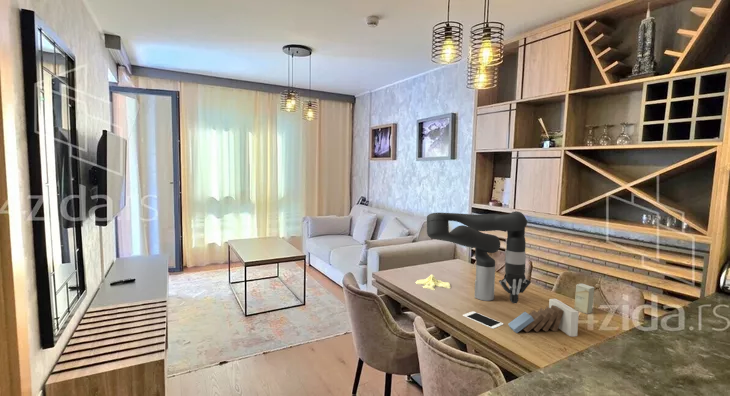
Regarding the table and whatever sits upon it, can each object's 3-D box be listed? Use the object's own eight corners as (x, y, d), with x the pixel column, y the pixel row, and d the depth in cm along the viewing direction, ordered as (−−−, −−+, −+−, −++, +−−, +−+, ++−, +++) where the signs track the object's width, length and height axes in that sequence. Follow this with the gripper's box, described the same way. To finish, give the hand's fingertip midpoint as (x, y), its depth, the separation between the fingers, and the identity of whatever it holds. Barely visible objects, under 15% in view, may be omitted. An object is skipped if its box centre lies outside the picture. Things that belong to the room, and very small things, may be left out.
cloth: (457, 287, 196) (457, 277, 195) (430, 293, 187) (431, 282, 187) (432, 276, 215) (432, 267, 215) (407, 281, 207) (407, 270, 206)
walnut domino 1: (524, 329, 141) (540, 314, 141) (517, 324, 146) (533, 309, 146) (527, 332, 142) (543, 318, 142) (520, 327, 146) (536, 313, 147)
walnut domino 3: (543, 329, 142) (554, 310, 142) (535, 324, 147) (546, 306, 147) (546, 331, 142) (558, 313, 142) (539, 326, 147) (550, 308, 147)
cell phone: (473, 312, 163) (473, 311, 162) (504, 325, 149) (504, 323, 149) (462, 316, 158) (462, 314, 158) (493, 329, 145) (493, 328, 145)
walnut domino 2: (534, 329, 142) (548, 312, 142) (527, 324, 147) (540, 307, 147) (537, 332, 142) (551, 315, 142) (530, 326, 147) (544, 310, 147)
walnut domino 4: (552, 330, 143) (559, 309, 142) (545, 324, 148) (551, 304, 147) (556, 331, 143) (563, 310, 142) (549, 325, 148) (555, 306, 147)
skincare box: (573, 309, 165) (575, 284, 164) (579, 307, 167) (580, 282, 166) (587, 314, 160) (589, 288, 159) (593, 312, 162) (594, 287, 161)
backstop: (570, 336, 139) (571, 312, 138) (548, 321, 153) (549, 298, 152) (577, 336, 139) (578, 311, 138) (554, 320, 153) (555, 298, 152)
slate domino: (514, 329, 141) (531, 316, 141) (507, 324, 146) (524, 311, 146) (516, 333, 141) (534, 320, 142) (510, 327, 146) (527, 315, 146)
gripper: (504, 264, 136) (503, 307, 138) (536, 263, 138) (534, 305, 139) (495, 259, 144) (494, 299, 146) (525, 258, 145) (524, 298, 147)
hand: (513, 302), depth 142 cm, fingers closed
